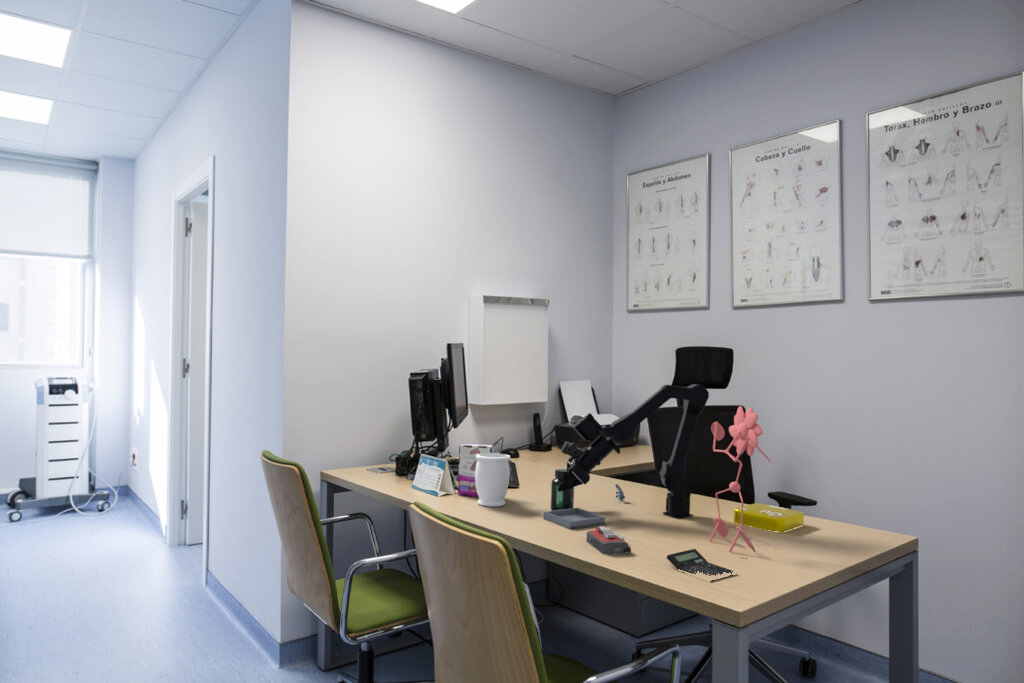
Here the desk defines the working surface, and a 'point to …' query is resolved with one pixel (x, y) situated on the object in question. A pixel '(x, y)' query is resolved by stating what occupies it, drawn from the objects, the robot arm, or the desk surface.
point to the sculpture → (620, 492)
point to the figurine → (743, 439)
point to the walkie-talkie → (607, 541)
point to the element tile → (769, 517)
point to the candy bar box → (470, 467)
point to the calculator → (695, 563)
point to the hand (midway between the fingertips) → (558, 488)
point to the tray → (574, 518)
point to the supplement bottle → (564, 497)
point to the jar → (492, 478)
